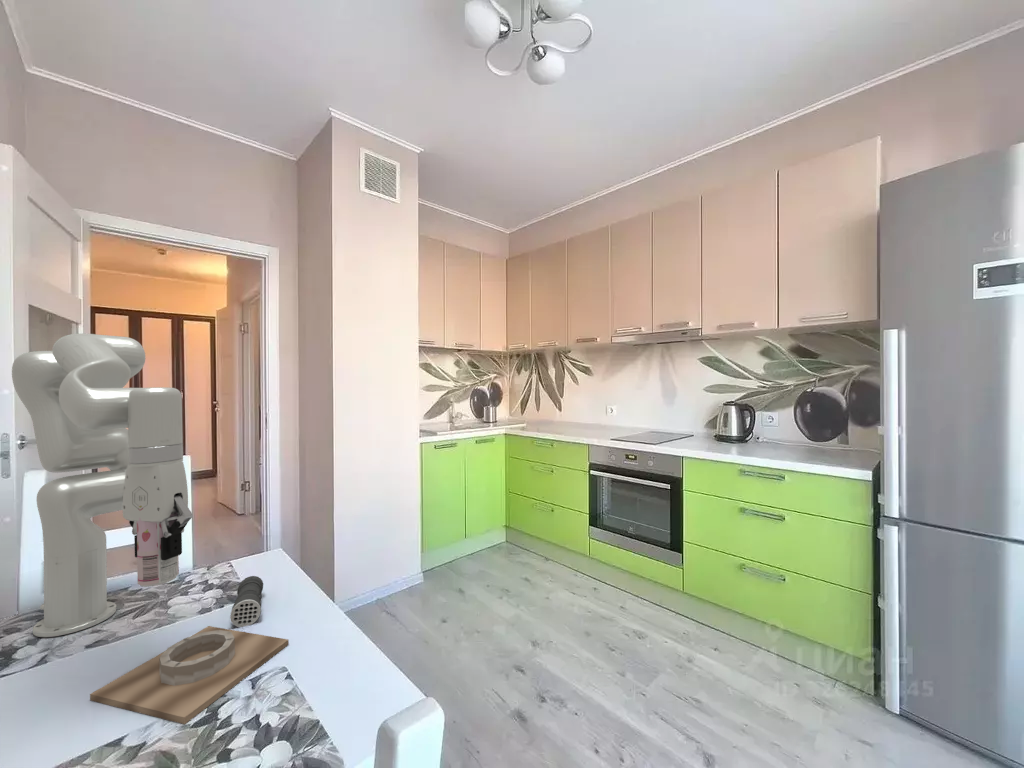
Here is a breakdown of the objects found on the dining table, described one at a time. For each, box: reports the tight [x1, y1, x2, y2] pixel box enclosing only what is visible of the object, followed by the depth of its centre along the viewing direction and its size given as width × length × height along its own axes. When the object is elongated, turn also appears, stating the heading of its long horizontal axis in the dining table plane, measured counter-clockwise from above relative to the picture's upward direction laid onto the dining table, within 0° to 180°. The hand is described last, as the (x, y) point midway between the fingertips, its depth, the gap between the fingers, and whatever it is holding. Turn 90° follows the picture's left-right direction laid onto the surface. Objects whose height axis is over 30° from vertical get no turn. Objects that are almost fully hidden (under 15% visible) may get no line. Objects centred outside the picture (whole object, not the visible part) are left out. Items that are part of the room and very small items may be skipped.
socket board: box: [89, 625, 290, 725], centre depth 75 cm, size 20×20×4 cm
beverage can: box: [136, 505, 180, 588], centre depth 76 cm, size 6×6×15 cm
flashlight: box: [229, 575, 264, 628], centre depth 96 cm, size 15×5×5 cm, turn 28°
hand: (158, 555), depth 76 cm, fingers closed on beverage can, 5 cm apart
